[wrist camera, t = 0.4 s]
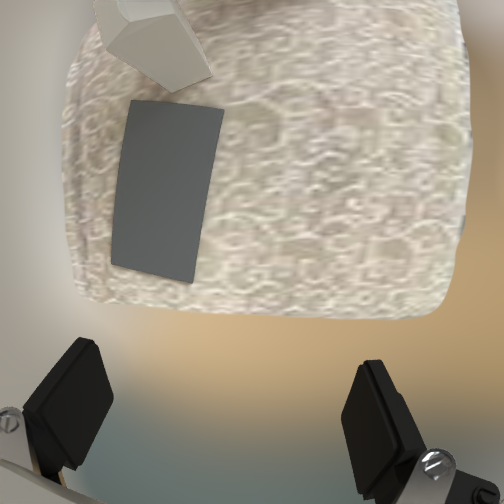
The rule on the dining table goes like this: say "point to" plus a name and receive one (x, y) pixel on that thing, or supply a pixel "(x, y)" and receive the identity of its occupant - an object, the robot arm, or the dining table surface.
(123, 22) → the milk
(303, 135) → the dining table surface
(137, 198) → the mat
